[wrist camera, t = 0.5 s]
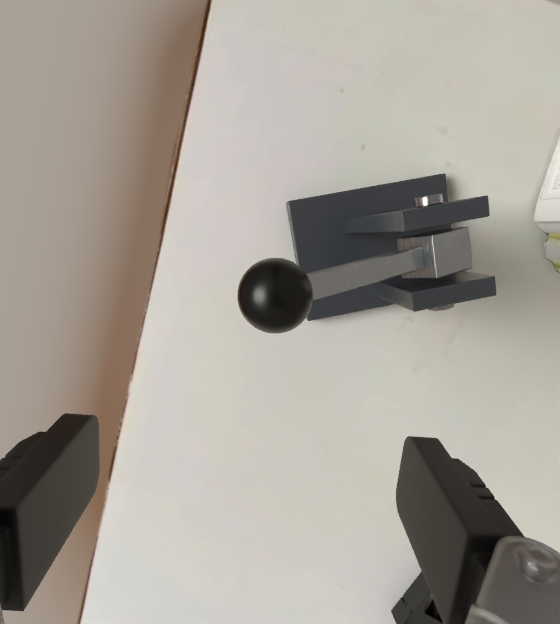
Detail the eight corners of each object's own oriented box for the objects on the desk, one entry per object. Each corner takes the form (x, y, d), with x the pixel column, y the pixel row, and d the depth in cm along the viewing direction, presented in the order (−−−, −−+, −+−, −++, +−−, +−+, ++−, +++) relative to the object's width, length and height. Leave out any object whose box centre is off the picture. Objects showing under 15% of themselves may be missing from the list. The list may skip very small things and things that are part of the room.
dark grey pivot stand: (305, 318, 35) (346, 365, 22) (285, 202, 33) (317, 182, 21) (450, 289, 36) (569, 319, 23) (438, 175, 34) (559, 139, 21)
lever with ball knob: (233, 337, 20) (268, 347, 17) (218, 266, 19) (252, 265, 16) (431, 277, 26) (480, 277, 23) (425, 222, 25) (474, 215, 23)
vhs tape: (554, 611, 42) (570, 630, 40) (503, 673, 43) (516, 694, 41) (443, 543, 40) (454, 559, 38) (391, 610, 40) (399, 629, 38)
